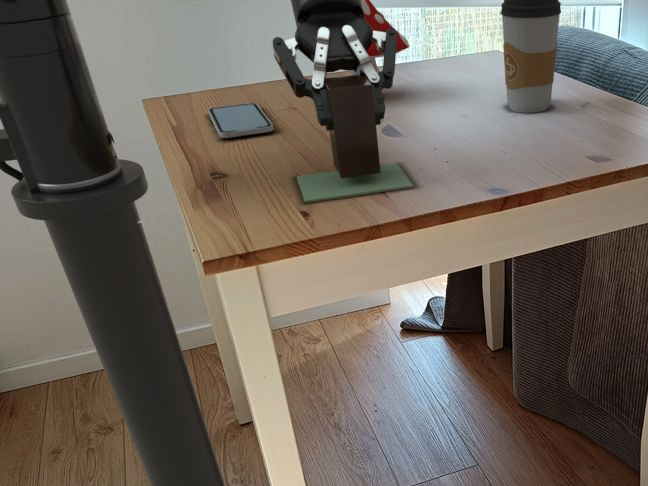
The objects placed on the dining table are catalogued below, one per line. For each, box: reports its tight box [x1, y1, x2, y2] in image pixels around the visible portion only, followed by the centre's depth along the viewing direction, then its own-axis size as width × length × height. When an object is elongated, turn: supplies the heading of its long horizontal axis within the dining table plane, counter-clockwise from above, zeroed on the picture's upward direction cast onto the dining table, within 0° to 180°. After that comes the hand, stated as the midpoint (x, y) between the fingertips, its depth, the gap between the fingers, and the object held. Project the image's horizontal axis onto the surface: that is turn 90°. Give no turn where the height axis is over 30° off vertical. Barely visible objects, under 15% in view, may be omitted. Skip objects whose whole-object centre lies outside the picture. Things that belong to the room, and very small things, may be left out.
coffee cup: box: [500, 0, 562, 114], centre depth 98 cm, size 8×8×15 cm
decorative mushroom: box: [349, 0, 410, 92], centre depth 106 cm, size 14×14×15 cm
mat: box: [296, 162, 414, 204], centre depth 78 cm, size 12×8×1 cm, turn 108°
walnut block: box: [324, 74, 381, 179], centre depth 76 cm, size 4×5×10 cm
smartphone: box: [207, 102, 275, 139], centre depth 99 cm, size 7×1×15 cm
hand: (354, 123), depth 74 cm, fingers closed on walnut block, 4 cm apart
